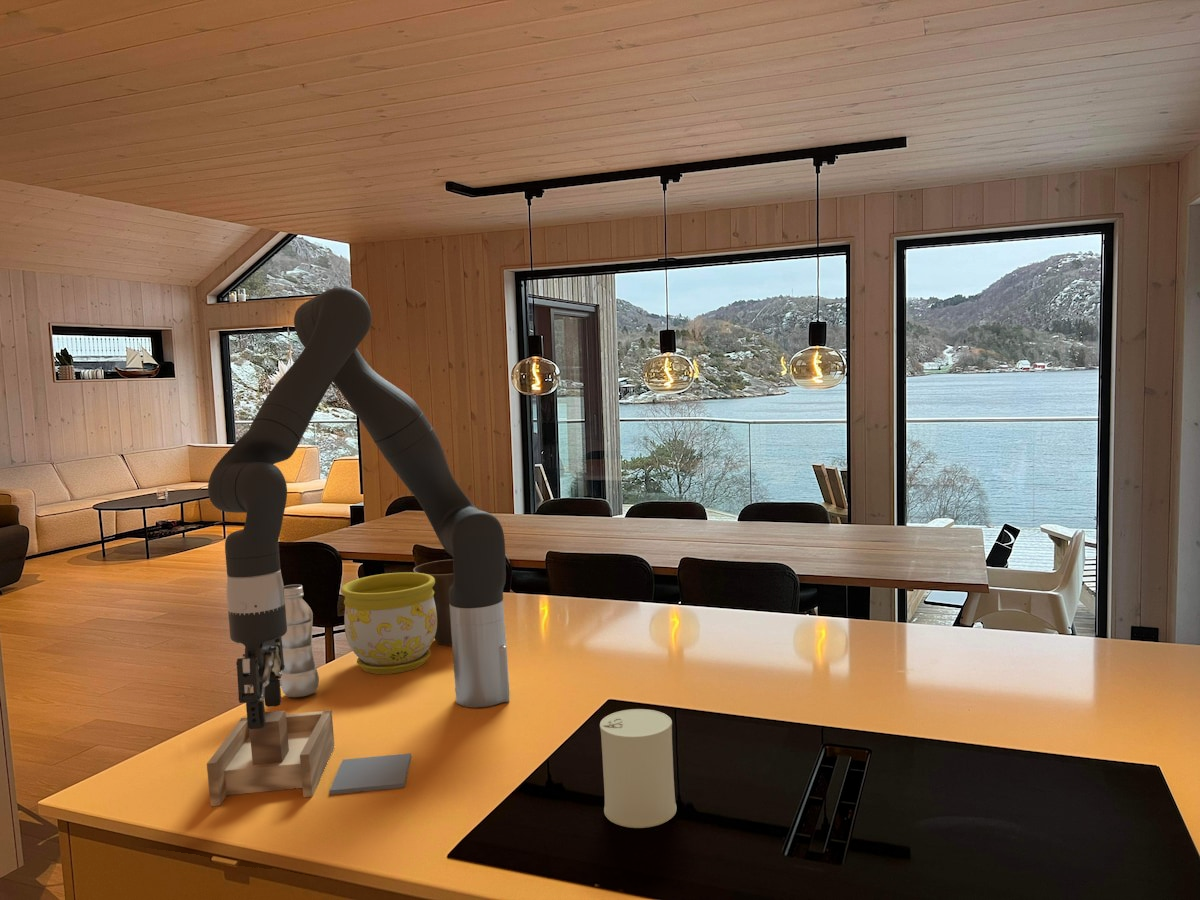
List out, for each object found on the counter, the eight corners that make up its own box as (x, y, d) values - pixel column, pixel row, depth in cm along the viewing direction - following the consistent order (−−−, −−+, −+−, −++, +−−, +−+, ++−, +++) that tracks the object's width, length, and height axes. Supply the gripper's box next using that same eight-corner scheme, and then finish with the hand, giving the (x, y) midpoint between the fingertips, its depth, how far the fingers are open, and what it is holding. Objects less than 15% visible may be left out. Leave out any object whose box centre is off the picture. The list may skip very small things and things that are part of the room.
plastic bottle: (309, 702, 161) (299, 591, 159) (274, 701, 162) (264, 591, 161) (326, 689, 167) (318, 582, 165) (293, 688, 169) (284, 582, 167)
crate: (334, 748, 140) (331, 710, 140) (312, 796, 124) (308, 754, 124) (244, 756, 139) (241, 718, 138) (210, 806, 123) (206, 763, 122)
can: (601, 796, 120) (596, 708, 119) (670, 790, 120) (666, 702, 119) (607, 831, 111) (602, 736, 110) (682, 824, 111) (678, 729, 110)
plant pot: (463, 625, 205) (459, 555, 203) (503, 638, 194) (498, 564, 192) (405, 641, 195) (399, 568, 193) (443, 655, 184) (438, 577, 182)
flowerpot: (341, 659, 185) (335, 580, 183) (429, 644, 192) (423, 568, 190) (354, 685, 168) (347, 598, 167) (450, 668, 175) (444, 585, 174)
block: (288, 750, 131) (285, 710, 131) (282, 762, 127) (278, 721, 127) (260, 753, 131) (256, 712, 130) (252, 765, 127) (248, 723, 126)
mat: (411, 757, 135) (411, 753, 135) (403, 787, 125) (403, 783, 125) (342, 763, 134) (342, 759, 134) (329, 794, 124) (329, 790, 124)
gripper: (270, 615, 121) (279, 733, 122) (296, 590, 135) (304, 696, 136) (212, 619, 120) (222, 738, 121) (243, 593, 134) (252, 700, 136)
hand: (265, 716), depth 129 cm, fingers open, 8 cm apart
